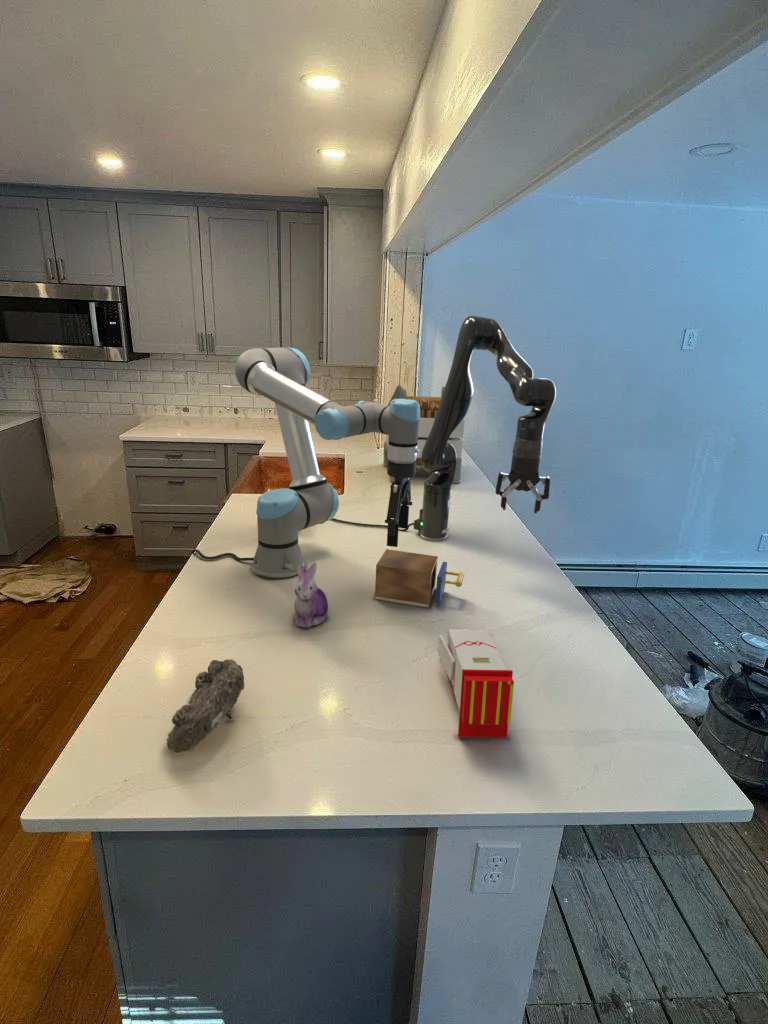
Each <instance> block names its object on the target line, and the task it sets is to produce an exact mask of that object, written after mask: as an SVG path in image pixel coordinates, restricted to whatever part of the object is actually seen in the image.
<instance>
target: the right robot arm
mask: <svg viewBox="0 0 768 1024" xmlns="http://www.w3.org/2000/svg"><path fill="white" fill-rule="evenodd" d="M511 343H512V342H511V341H510V339H509V338H508V337H507V335H506V333H505V331H504V329H503V327H502V326H501V325H500V323H499V322H498V321H497V320H496V319H493V318H490V317H486V316H485V317H484V316H479V315H469V316H467V317H466V318H464V320H463V322H462V323H461V326H460V328H459V332H458V336H457V341H456V346H455V350H454V354H453V359H452V362H451V366H450V369H449V373H448V377H447V379H446V383H445V385H444V387H445V388H444V391H443V394H442V398H441V401H440V405H439V408H438V411H437V414H436V417H435V420H434V423H433V426H432V429H431V431H430V434H429V436H428V438H427V441H426V443H425V445H424V448H423V450H422V454H421V463H422V466H421V467H422V468H423V470H424V471H426V472H428V473H431V474H430V475H429V477H427V478H426V479H425V480H424V482H423V493H422V496H423V497H422V506H421V508H420V509H419V516H418V518H416V519H415V520H413V522H411V523H408V529H405V528H399V529H398V532H406V531H408V530H409V529H410V527H411V526H413V530H416V531H417V535H418V536H420V538H421V539H424V540H426V541H432V542H440V541H444V540H446V539H447V538H448V532H449V529H450V528H448V525H449V517H450V516H449V514H450V504H451V494H452V493H451V491H452V486H453V484H454V483H453V482H454V477H455V470H456V462H457V455H456V450H455V448H454V446H453V445H452V444H450V443H448V442H447V441H448V439H449V437H450V435H451V434H452V432H453V431H454V430H455V429H456V427H457V426H458V425H459V424H460V422H461V421H462V420H463V419H465V417H466V416H467V414H468V412H469V409H470V406H471V404H472V400H473V397H474V392H475V391H474V384H473V380H472V375H471V371H470V363H471V358H472V355H473V351H474V350H477V351H488V352H490V353H491V354H493V355H494V356H495V357H496V361H495V362H496V363H495V364H496V369H497V371H498V373H499V374H500V375H501V377H502V378H503V379H504V380H505V382H506V383H508V385H509V388H510V390H511V393H512V396H513V399H514V401H515V402H516V403H517V404H518V405H520V406H522V407H532V408H530V410H529V412H527V413H524V414H522V415H520V416H519V417H518V418H517V423H516V431H515V438H514V442H513V448H512V455H511V464H510V471H509V473H505V472H503V471H499V472H498V474H497V480H496V484H495V485H496V486H495V495H497V496H500V497H501V500H500V508H502V511H506V507H507V501H508V495H509V494H510V493H512V492H513V491H514V490H515V491H517V492H518V491H519V492H521V491H523V492H530V491H531V493H532V494H533V495H534V497H535V500H534V508H533V514H538V512H540V511H541V505H542V501H543V500H548V499H549V498H550V489H551V488H550V486H551V479H550V476H549V475H545V476H540V467H541V462H542V461H541V460H542V455H543V439H544V432H545V425H546V422H547V419H548V418H549V415H550V413H551V410H552V408H553V405H554V403H555V401H556V396H557V390H556V389H557V388H556V386H555V385H556V384H555V383H554V382H553V380H551V379H549V378H545V377H544V378H542V377H541V378H536V377H535V378H534V371H533V368H532V367H531V366H530V364H528V363H527V361H526V360H525V359H524V358H523V357H522V356H521V355H520V354H519V353H518V352H517V351H516V349H515V348H514V346H513V344H511ZM507 479H508V481H509V484H508V485H507V486H506V488H504V489H502V485H503V484H502V483H503V482H506V480H507ZM540 482H541V485H542V486H543V493H540V492H539V490H538V488H537V485H538V484H539V483H540ZM330 521H335V522H339V523H342V524H349V525H354V526H361V527H362V526H364V527H376V528H387V529H388V524H372V523H361V522H353V521H347V520H342V519H338V518H335V517H333V518H332V519H331V520H330Z"/></svg>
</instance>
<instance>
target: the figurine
mask: <svg viewBox="0 0 768 1024" xmlns="http://www.w3.org/2000/svg"><path fill="white" fill-rule="evenodd" d="M316 573H317V563H316V562H313V563H311V565H310V566H309V567H308V569H307V570H306V567H305V565H304V566H303V564H299V566H298V574H297V578H298V579H297V581H296V583H295V586H294V589H293V590H294V594H295V596H296V598H295V601H294V612H295V615H294V619H295V626H297V627H302V628H311V627H312V626H313V627H314V626H318V625H320V624H322V623H323V622H324V621H325V620H326V619H327V616H328V610H329V604H328V598H327V595H326V594H325V592H324V591H323V590H322V589H321V588H319V587H318V586H317V583H316V581H315V575H316Z"/></svg>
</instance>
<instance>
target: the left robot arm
mask: <svg viewBox="0 0 768 1024" xmlns="http://www.w3.org/2000/svg"><path fill="white" fill-rule="evenodd" d="M234 367H235V368H234V374H235V377H236V380H237V382H238V384H239V385H240V386H241V387H242V389H244V390H245V391H247V392H248V393H250V394H252V396H253V395H254V396H256V397H264V398H266V399H268V400H270V401H272V402H273V403H274V405H275V410H276V414H277V418H278V419H277V420H278V423H279V428H280V431H281V435H282V440H283V445H284V448H285V453H286V457H287V463H288V466H289V467H288V468H289V471H290V474H291V481H290V483H289V485H288V488H286V487H284V488H283V487H282V488H273V489H270V490H267V491H265V492H263V493H262V494H261V495H260V496H259V497H258V498H257V501H256V512H255V513H256V519H257V521H256V523H257V548H256V550H255V554H254V556H253V557H239V556H237V554H236V553H232V552H224V553H220V554H216V555H214V556H206V555H205V554H203V553H202V552H201V550H199V549H197V548H195V549H193V550H191V552H190V554H195V553H196V554H197V555H198V556H199V557H201V559H203V560H208V561H213V560H217V559H220V558H224V557H232V558H234V559H235V560H236V561H239V562H252V571H253V573H254V574H255V575H257V576H260V577H262V578H266V579H274V580H275V579H276V580H279V579H287V578H293V577H294V576H298V566H299V564H303V566H304V567H305V558H304V556H303V553H302V550H301V547H300V544H299V531H302V530H306V529H309V528H310V527H314V526H317V525H323V524H325V523H327V521H332V520H331V519H332V518H335V516H336V514H337V513H338V512H339V511H338V510H339V507H340V499H339V494H338V491H337V489H335V488H334V486H333V485H332V484H330V483H328V479H327V478H326V476H324V475H323V474H321V472H320V467H319V463H318V459H317V455H316V450H315V445H314V440H313V436H312V432H311V427H310V424H312V425H314V428H315V430H316V433H318V435H319V437H320V438H321V439H323V440H325V441H332V440H333V441H339V440H341V439H345V438H349V437H350V438H351V437H355V436H360V435H365V434H370V433H371V434H372V433H378V434H383V435H385V436H386V435H389V443H388V459H389V461H388V462H387V466H386V474H387V476H391V477H394V478H395V480H394V482H391V484H390V493H389V500H388V506H387V513H386V519H384V523H385V524H387V526H388V528H387V534H386V546H387V547H393V548H398V547H399V531H398V529H408V525H409V518H410V516H409V515H410V507H411V506H413V501H412V490H411V478H414V477H415V476H416V474H417V466H416V462H415V460H416V459H417V453H419V449H417V445H418V431H419V421H420V405H419V403H418V402H417V401H415V400H411V399H394V400H392V401H391V403H390V405H388V404H385V403H381V402H380V403H379V402H375V401H372V400H359V401H357V402H356V403H355V404H353V405H346V406H343V405H341V404H339V403H337V402H335V401H332V400H330V399H329V398H327V397H325V396H323V395H322V394H320V393H318V392H316V391H314V390H312V389H310V388H309V387H307V386H306V385H307V384H308V383H309V380H310V376H311V367H310V364H309V360H308V359H307V356H305V354H304V353H303V352H302V351H300V350H299V349H297V348H294V347H286V346H282V347H280V346H279V347H255V348H250V349H248V350H246V351H244V352H243V353H241V354H240V355H239V356H238V358H237V360H236V362H235V366H234ZM408 530H409V529H408ZM195 551H196V552H195ZM194 552H195V553H194Z"/></svg>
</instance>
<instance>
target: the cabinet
mask: <svg viewBox="0 0 768 1024" xmlns="http://www.w3.org/2000/svg"><path fill="white" fill-rule="evenodd" d="M438 558H439V556H438V555H432V554H423V553H417V552H416V553H415V552H409V551H402V550H397V549H396V550H395V549H388V548H386V549H385V551H384V552H383V553H382V555H381V557H380V558H379V560H378V562H377V563H376V565H375V583H374V585H375V586H374V600H380V601H386V602H392V603H399V604H403V605H410V606H417V607H423V608H429V607H430V604H431V601H432V599H433V596H434V593H435V591H436V586H435V587H434V590H433V592H432V595H431V598H430V587H431V575H432V572H433V570H434V567H435V565H436V573H437V571H438ZM436 563H437V564H436ZM435 585H437V575H436V576H435ZM429 599H430V600H429Z"/></svg>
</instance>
